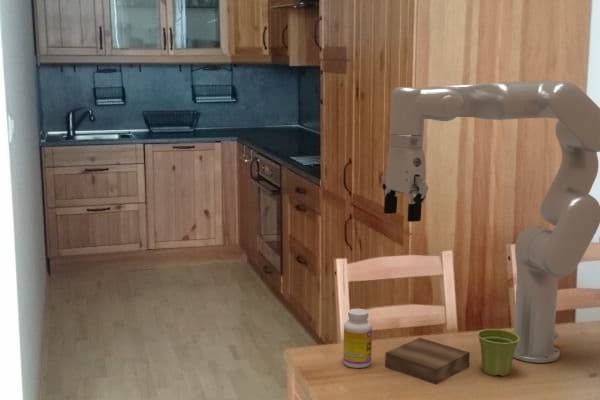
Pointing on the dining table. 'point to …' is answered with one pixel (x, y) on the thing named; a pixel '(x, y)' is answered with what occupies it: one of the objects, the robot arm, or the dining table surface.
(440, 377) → the brown wooden square slab
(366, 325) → the supplement bottle
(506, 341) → the plant pot
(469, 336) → the dining table surface
